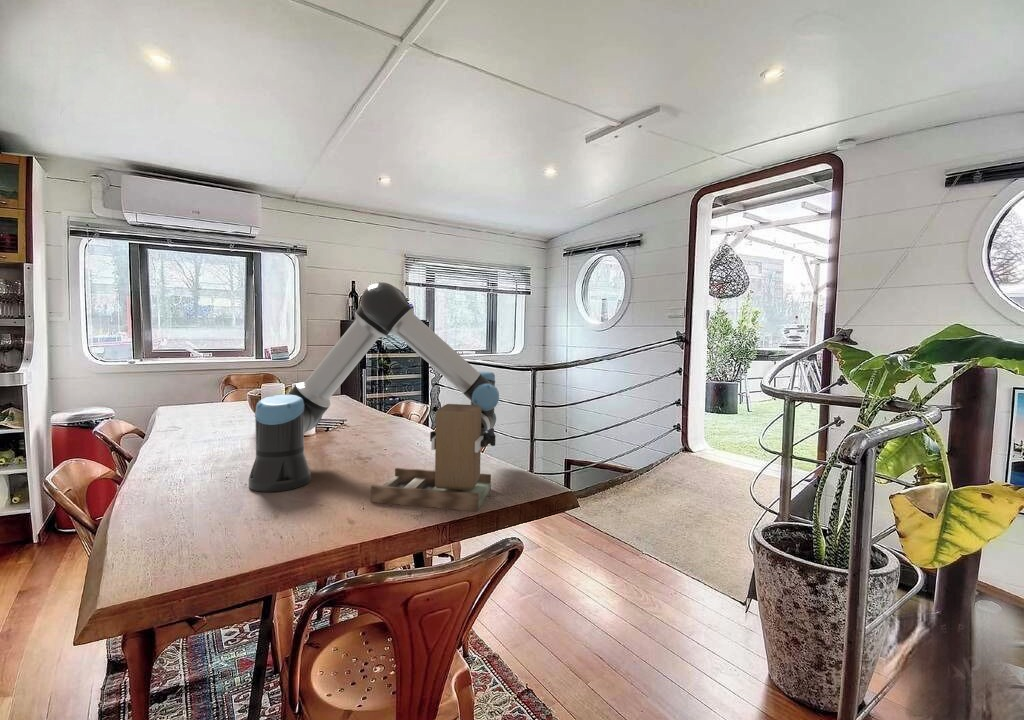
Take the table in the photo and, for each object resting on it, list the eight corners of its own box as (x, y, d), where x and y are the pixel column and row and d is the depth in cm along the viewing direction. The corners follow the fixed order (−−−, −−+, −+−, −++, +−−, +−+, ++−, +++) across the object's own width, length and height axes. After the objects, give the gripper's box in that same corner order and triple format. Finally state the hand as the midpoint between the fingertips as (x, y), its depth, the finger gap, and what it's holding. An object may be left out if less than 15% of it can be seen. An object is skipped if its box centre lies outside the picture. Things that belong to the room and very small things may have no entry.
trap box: (370, 502, 113) (370, 486, 113) (396, 481, 129) (396, 467, 128) (477, 511, 109) (477, 494, 109) (490, 488, 125) (491, 474, 124)
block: (480, 479, 122) (482, 404, 121) (473, 491, 112) (475, 411, 111) (443, 476, 123) (445, 403, 122) (433, 489, 113) (435, 409, 112)
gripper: (513, 442, 133) (499, 463, 111) (437, 437, 137) (409, 457, 115) (513, 417, 133) (500, 433, 111) (437, 413, 136) (410, 428, 114)
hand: (454, 445), depth 113 cm, fingers closed on block, 10 cm apart
